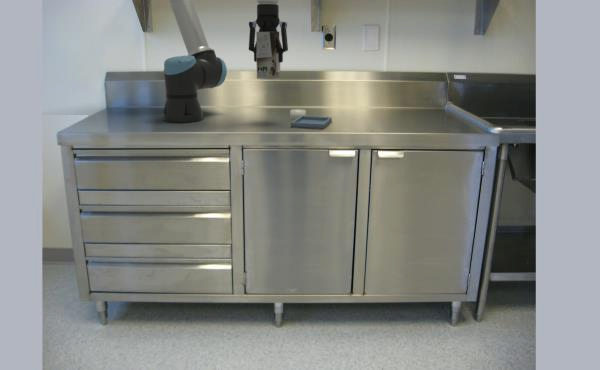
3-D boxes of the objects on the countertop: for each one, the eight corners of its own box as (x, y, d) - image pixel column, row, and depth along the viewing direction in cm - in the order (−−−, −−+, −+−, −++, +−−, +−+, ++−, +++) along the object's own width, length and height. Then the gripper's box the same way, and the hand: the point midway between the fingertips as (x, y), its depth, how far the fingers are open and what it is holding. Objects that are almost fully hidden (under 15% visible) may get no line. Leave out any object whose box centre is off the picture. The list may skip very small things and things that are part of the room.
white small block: (288, 120, 193) (288, 111, 192) (292, 117, 198) (292, 108, 197) (303, 121, 192) (303, 111, 190) (307, 118, 197) (307, 109, 196)
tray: (290, 127, 179) (290, 122, 178) (300, 120, 192) (300, 115, 191) (323, 129, 176) (323, 124, 175) (331, 122, 189) (331, 117, 188)
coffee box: (273, 79, 176) (273, 31, 171) (256, 78, 177) (255, 31, 172) (280, 76, 184) (280, 31, 179) (263, 76, 186) (262, 30, 181)
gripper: (237, 3, 172) (239, 71, 179) (291, 3, 167) (291, 73, 174) (245, 4, 179) (246, 69, 186) (297, 4, 174) (297, 71, 181)
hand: (268, 71), depth 180 cm, fingers closed on coffee box, 7 cm apart
